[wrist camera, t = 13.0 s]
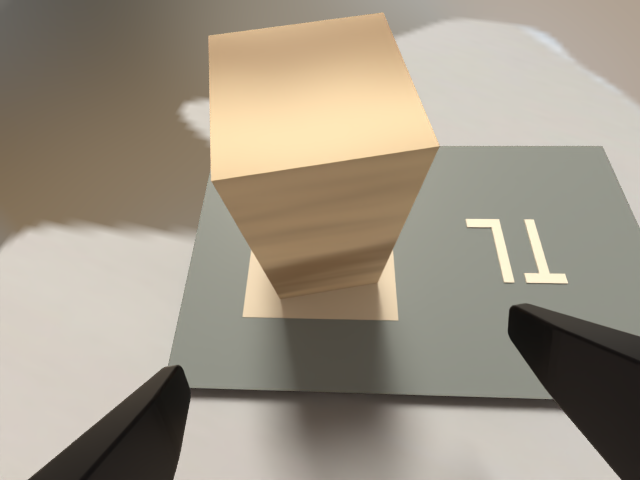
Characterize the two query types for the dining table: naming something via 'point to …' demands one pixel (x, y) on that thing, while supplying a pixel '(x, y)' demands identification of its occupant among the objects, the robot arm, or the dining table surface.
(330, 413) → the dining table surface
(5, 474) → the dining table surface
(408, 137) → the maple block
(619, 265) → the slate board
